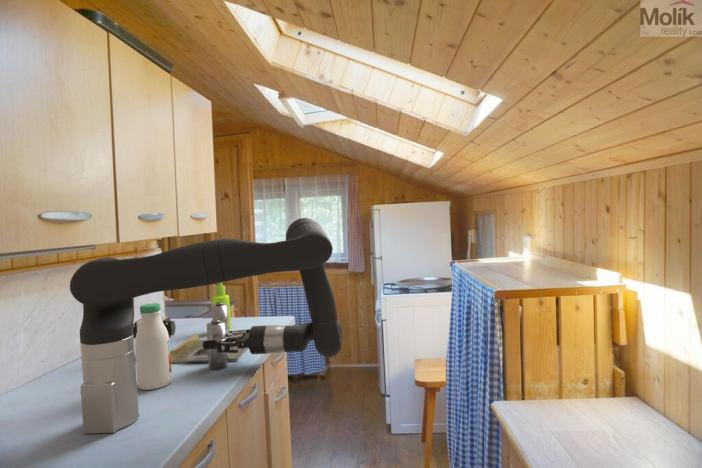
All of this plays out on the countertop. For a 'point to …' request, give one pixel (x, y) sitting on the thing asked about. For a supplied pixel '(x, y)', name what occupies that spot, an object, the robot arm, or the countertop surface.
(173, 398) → the countertop surface
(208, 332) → the cylinder
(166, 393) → the countertop surface
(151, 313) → the milk bottle
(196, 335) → the carrier plate
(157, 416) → the countertop surface
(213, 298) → the soap dispenser
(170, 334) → the pneumatic valve
